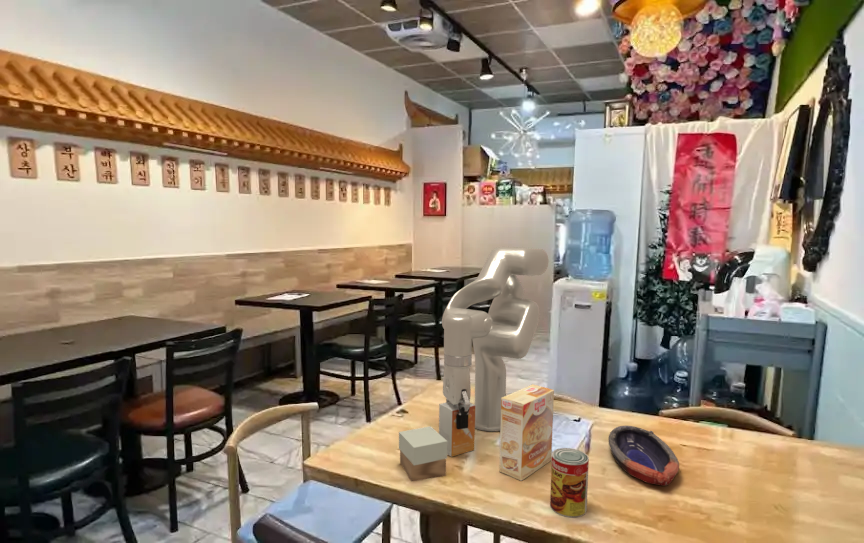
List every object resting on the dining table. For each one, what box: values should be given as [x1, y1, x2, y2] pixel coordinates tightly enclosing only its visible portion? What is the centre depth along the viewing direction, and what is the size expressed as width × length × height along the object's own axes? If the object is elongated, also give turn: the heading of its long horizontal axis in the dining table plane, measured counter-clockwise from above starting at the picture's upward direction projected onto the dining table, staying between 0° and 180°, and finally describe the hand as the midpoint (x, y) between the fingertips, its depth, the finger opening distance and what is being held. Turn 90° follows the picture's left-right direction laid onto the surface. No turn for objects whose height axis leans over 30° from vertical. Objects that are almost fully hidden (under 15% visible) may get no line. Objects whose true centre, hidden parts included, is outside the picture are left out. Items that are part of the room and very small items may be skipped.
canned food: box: [549, 447, 590, 518], centre depth 115 cm, size 8×8×12 cm
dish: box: [608, 425, 680, 487], centre depth 137 cm, size 16×31×5 cm, turn 172°
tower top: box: [398, 425, 448, 465], centre depth 132 cm, size 9×10×4 cm
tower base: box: [399, 449, 447, 482], centre depth 133 cm, size 9×10×4 cm
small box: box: [438, 401, 476, 458], centre depth 143 cm, size 8×6×13 cm
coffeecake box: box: [498, 383, 555, 481], centre depth 134 cm, size 15×7×20 cm, turn 137°
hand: (456, 422), depth 143 cm, fingers closed on small box, 7 cm apart
